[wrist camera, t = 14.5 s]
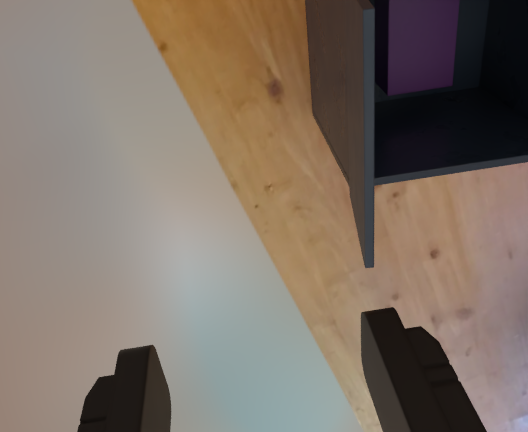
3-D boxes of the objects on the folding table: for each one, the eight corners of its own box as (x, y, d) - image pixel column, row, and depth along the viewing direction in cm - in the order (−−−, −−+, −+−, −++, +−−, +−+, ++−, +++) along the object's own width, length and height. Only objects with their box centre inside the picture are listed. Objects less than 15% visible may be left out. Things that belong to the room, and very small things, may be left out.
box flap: (356, 194, 28) (349, 195, 28) (353, -22, 22) (343, -21, 22) (374, 267, 22) (364, 268, 22) (375, 8, 16) (363, 9, 16)
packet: (435, 73, 37) (452, 86, 34) (374, 82, 37) (387, 96, 34) (442, -33, 33) (462, -27, 30) (374, -23, 33) (388, -16, 30)
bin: (312, 115, 38) (385, 257, 23) (301, -48, 32) (390, 0, 17) (491, 88, 38) (678, 211, 23) (513, -78, 32) (783, -57, 17)
